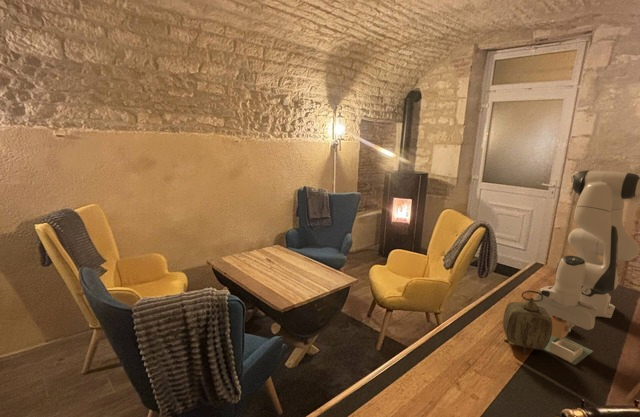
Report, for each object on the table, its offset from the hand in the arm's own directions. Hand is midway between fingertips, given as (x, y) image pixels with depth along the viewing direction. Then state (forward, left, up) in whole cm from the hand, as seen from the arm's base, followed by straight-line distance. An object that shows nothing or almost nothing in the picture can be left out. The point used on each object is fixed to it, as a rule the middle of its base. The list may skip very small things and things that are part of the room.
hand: (559, 327), depth 133 cm
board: (+5, +1, -6) cm, 8 cm away
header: (+8, +6, -5) cm, 11 cm away
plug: (0, 0, -3) cm, 3 cm away
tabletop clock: (+19, -4, -6) cm, 21 cm away
